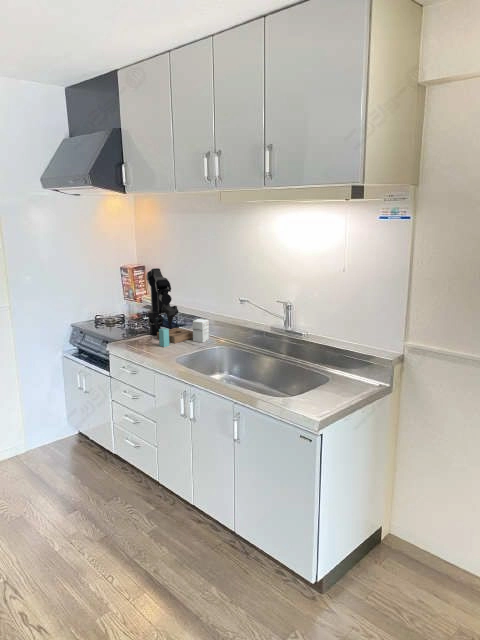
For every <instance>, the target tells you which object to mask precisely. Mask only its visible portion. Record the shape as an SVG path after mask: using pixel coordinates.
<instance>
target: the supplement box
mask: <svg viewBox="0 0 480 640" xmlns="http://www.w3.org/2000/svg"><path fill="white" fill-rule="evenodd" d="M209 322H210V320H209V319H205V318H204V319H202V318H197V319H194V320H192V331H193V339H192V342H199V343H205V342H207V341H209V340H208V339H210V327H209V326H210V325H209ZM206 340H207V341H206Z"/></svg>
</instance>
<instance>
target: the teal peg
mask: <svg viewBox="0 0 480 640" xmlns="http://www.w3.org/2000/svg"><path fill="white" fill-rule="evenodd" d="M169 329H170V328H166V327H163V328H161V329H159V339H158V341H159V342H158V343H159V344H158V345H159V347H161V348H166V347H169V346H170V342H169Z"/></svg>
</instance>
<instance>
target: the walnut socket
mask: <svg viewBox="0 0 480 640" xmlns="http://www.w3.org/2000/svg"><path fill="white" fill-rule="evenodd" d="M168 329H169V343H172V344H177V343H182V342H185V341H188V340H193V339H192V338H193V330H188V329H185V328H179V327H174V328H171V329H170V328H168ZM156 338H157V340H159V332H157V336H156Z"/></svg>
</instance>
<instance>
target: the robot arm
mask: <svg viewBox="0 0 480 640" xmlns="http://www.w3.org/2000/svg"><path fill="white" fill-rule="evenodd" d="M145 276H146V280H147V283H148V285H149V286H150V304H151V305H150V306H151V307H150V308H151V309H150V311H149V312H148V313H147V325H148V327H149V328H150V329H149V330H150V332H149V333H148V335H150V336H153V337H157V332H159V329H162V328H161V326H163V324H164V322H163V321H164V317H163V315H166V318H167V323H168V326H169V327H171V326H172V322H173V320H174V318H175V317H176V316H177V315H178V314H179V309H178V306H177V305H172V306H171V302H172V296H171V295H170V294H169V293H171V290H172V287H171V282H170V281H169V279H168V278H166V277H164V275H163V274H162V272H161V268H151V270H149V271H147V273H146V275H145Z"/></svg>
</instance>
